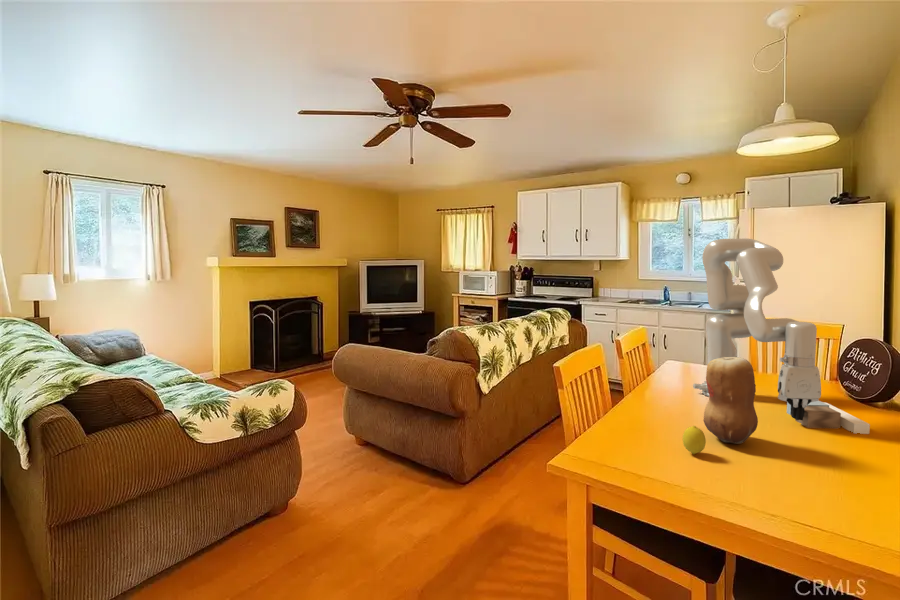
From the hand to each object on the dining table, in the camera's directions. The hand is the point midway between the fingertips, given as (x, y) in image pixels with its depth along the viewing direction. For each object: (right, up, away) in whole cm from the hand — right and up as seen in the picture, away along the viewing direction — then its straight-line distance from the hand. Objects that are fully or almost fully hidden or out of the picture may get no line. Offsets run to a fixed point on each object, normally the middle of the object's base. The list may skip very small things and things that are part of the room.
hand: (797, 418), depth 138 cm
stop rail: (+15, -2, +2) cm, 16 cm away
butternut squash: (-28, -4, -10) cm, 30 cm away
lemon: (-42, -5, -18) cm, 46 cm away
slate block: (+10, -2, +8) cm, 12 cm away
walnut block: (+7, -2, +1) cm, 7 cm away
